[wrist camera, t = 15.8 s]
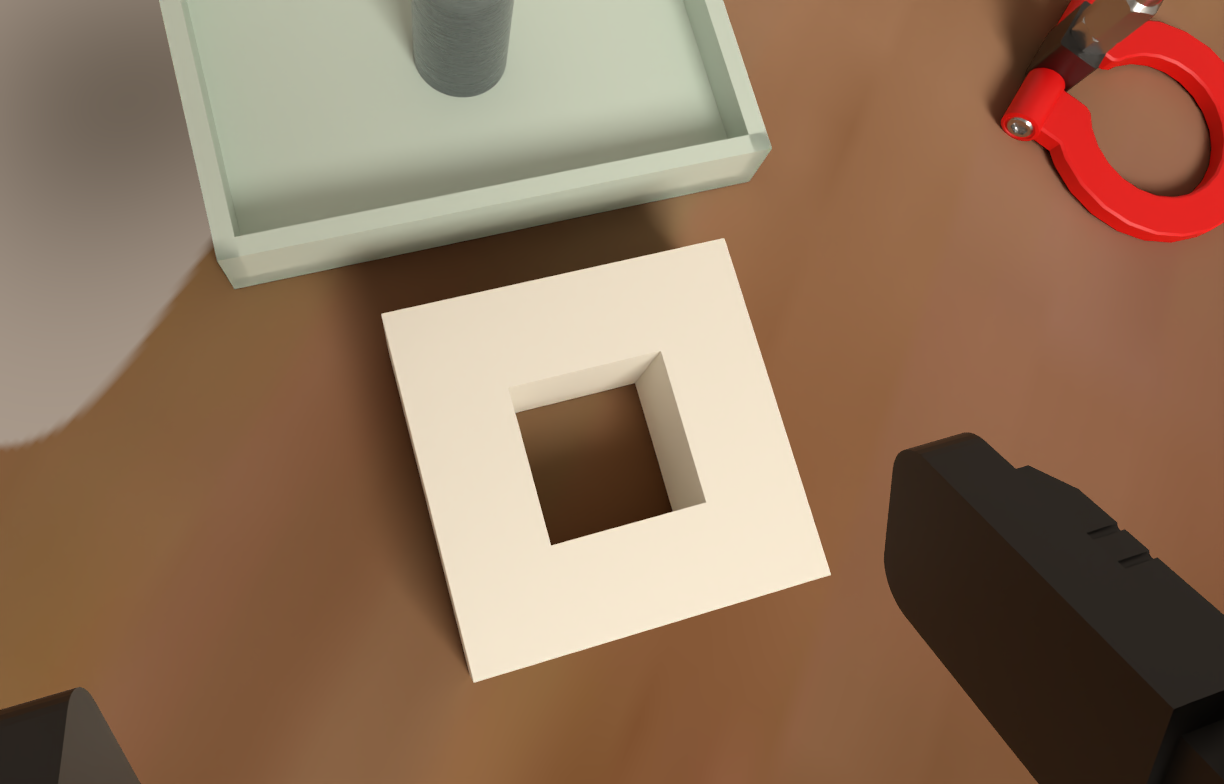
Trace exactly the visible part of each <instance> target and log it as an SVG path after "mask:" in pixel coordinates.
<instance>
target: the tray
mask: <svg viewBox="0 0 1224 784" xmlns="http://www.w3.org/2000/svg"><path fill="white" fill-rule="evenodd" d="M159 3H160V8H161V13H162V17H163V21H164V26H165V30H166V35H167V39H168V43H169V48H170V53H171V57H172V62H173V66H174V71H175V75H176V79H177V83H178V88H179V93H180V97H181V102H182V106H183V111H184V115H185V120H186V124H187V128H188V133H189V138H190V142H191V146H192V151H193V155H194V160H195V164H196V168H197V173H198V178H199V182H200V187H201V191H202V195H203V200H204V204H205V209H206V213H207V218H208V222H209V227H210V231H211V236H212V240H213V245H214V249H215V254H216V258H217V262H218V263H219V265H220V266H221V268H222V270H223V271H224V273H225V275H226V276H227V278H228V279H229V281H230V283H231V284H232V286H233V287H234V289H238V288H243V287H247V286H252V285H257V284H262V283H267V282H271V281H276V280H281V279H286V278H290V277H295V276H300V275H305V274H310V273H314V272H319V271H324V270H329V269H333V268H338V267H343V266H348V265H353V264H357V263H362V262H367V261H372V260H377V259H381V258H386V257H391V256H396V255H400V254H405V253H410V252H415V251H420V250H424V249H429V248H434V247H439V246H443V245H448V244H453V243H458V242H463V241H467V240H472V239H477V238H482V237H486V236H491V235H496V234H501V233H506V232H510V231H515V230H520V229H525V228H529V227H534V226H539V225H544V224H549V223H553V222H558V221H563V220H568V219H573V218H577V217H582V216H587V215H592V214H596V213H601V212H606V211H611V210H616V209H620V208H625V207H630V206H635V205H639V204H644V203H649V202H654V201H659V200H663V199H668V198H673V197H678V196H682V195H687V194H692V193H697V192H702V191H706V190H711V189H716V188H721V187H725V186H730V185H735V184H740V183H745V182H749V181H750V180H751V178H752V177H753V175H754V174H755V172H756V171H757V170H758V168H759V167H760V165H761V164H762V162H763V161H764V159H765V158H766V156H767V155H768V154H769V152H770V151H771V149H772V147H771V144H770V141H769V138H768V135H767V132H766V129H765V126H764V123H763V120H762V117H761V114H760V111H759V108H758V105H757V102H756V99H755V96H754V93H753V90H752V87H751V84H750V80H749V77H748V74H747V71H746V68H745V65H744V62H743V59H742V56H741V53H740V50H739V47H738V44H737V41H736V38H735V35H734V32H733V29H732V26H731V23H730V20H729V17H728V14H727V11H726V8H725V5H724V2H723V0H514V6H513V14H512V22H511V30H510V38H509V46H508V54H507V63H506V68H505V71H504V73H503V75H502V77H501V79H500V80H499V81H498V83H497V84H496V85H495V86H494V87H492V88H491V89H490V90H488V91H486V92H485V93H483V94H480V95H477V96H473V97H453V96H449V95H446V94H443V93H441V92H439V91H437V90H435V89H434V88H432V87H431V86H430V85H428V84H427V83H426V82H425V81H424V80H423V78H422V77H421V76H420V74H419V72H418V70H417V68H416V66H415V63H414V58H413V36H412V12H411V0H159Z"/></svg>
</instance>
